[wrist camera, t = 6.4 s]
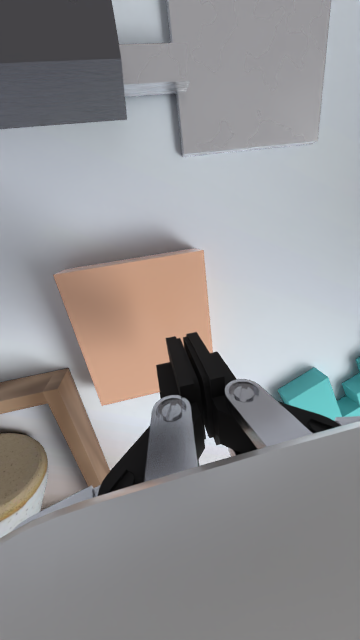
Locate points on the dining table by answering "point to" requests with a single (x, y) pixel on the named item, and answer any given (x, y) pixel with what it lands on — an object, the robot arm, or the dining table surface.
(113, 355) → the block
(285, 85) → the dark grey pieces
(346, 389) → the alien figure
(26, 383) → the wooden tray
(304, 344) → the dining table surface
